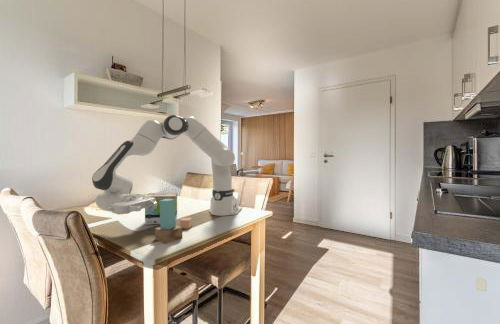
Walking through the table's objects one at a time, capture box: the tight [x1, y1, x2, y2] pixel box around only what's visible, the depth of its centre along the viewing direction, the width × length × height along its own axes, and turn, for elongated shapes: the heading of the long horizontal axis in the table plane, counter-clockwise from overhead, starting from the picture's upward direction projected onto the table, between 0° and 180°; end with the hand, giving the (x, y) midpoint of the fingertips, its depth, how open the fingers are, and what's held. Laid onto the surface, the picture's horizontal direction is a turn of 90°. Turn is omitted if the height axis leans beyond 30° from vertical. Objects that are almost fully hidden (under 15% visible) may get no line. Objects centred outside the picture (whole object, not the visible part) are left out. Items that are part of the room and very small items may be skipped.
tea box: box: [144, 192, 178, 226], centre depth 129 cm, size 15×10×15 cm, turn 101°
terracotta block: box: [179, 217, 193, 229], centre depth 121 cm, size 4×4×4 cm
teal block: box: [159, 199, 177, 230], centre depth 104 cm, size 4×4×12 cm
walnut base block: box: [154, 224, 183, 245], centre depth 105 cm, size 8×8×5 cm
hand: (148, 206), depth 108 cm, fingers open, 8 cm apart
